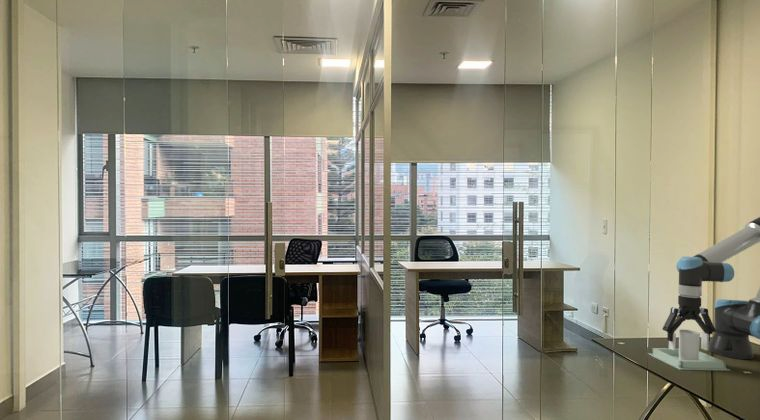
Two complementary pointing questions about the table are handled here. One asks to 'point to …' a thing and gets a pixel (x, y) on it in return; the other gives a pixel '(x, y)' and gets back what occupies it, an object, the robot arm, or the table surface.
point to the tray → (702, 364)
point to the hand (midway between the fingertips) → (688, 349)
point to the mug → (689, 345)
